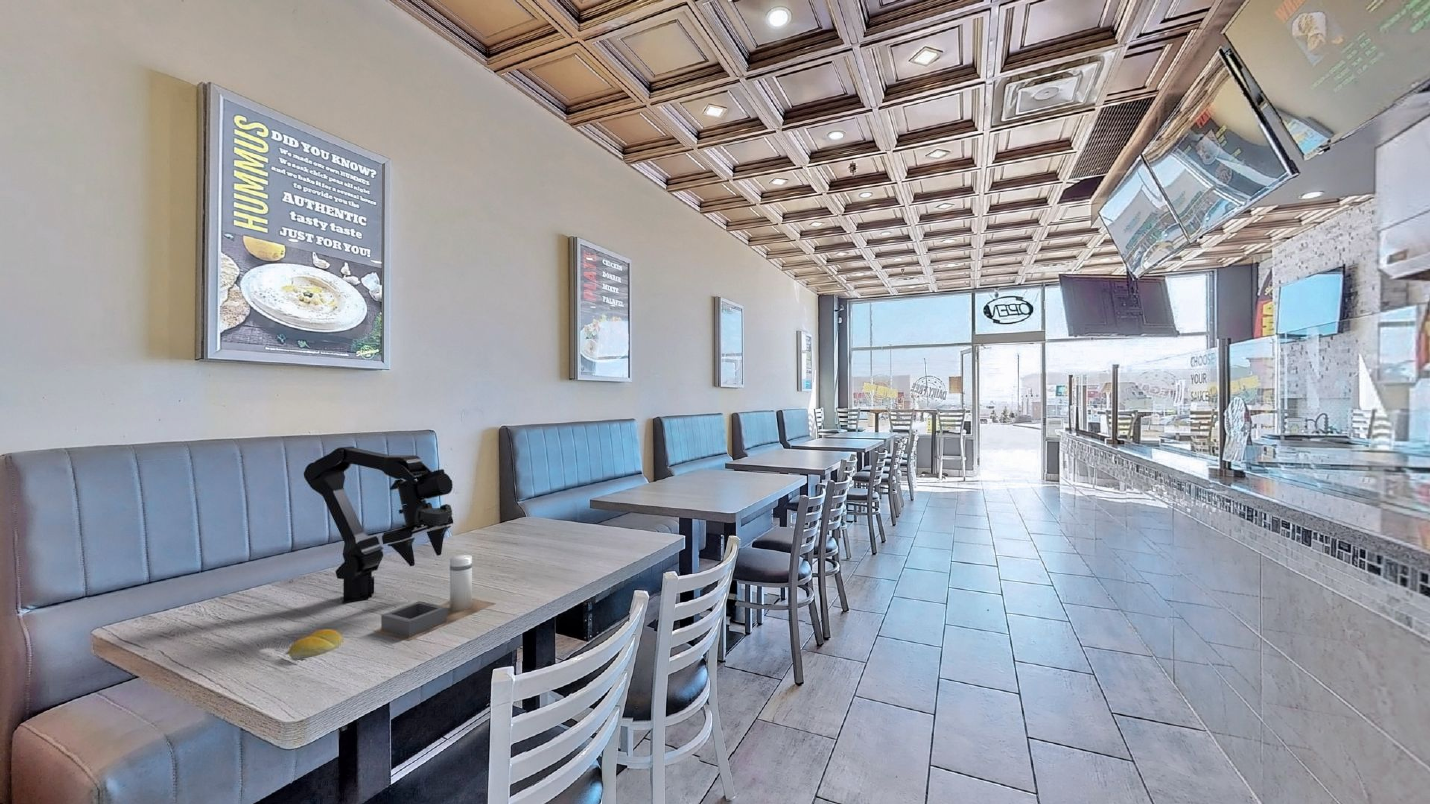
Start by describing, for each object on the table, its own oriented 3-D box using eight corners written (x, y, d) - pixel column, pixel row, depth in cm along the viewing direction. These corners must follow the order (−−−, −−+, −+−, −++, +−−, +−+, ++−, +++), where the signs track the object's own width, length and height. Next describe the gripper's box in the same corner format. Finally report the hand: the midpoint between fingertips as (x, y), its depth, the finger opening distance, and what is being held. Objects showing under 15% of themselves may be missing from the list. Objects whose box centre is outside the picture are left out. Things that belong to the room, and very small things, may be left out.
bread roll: (279, 661, 108) (279, 641, 108) (319, 641, 117) (319, 623, 117) (313, 664, 107) (313, 644, 107) (351, 644, 116) (351, 626, 116)
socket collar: (409, 638, 117) (409, 622, 117) (381, 630, 121) (381, 614, 121) (446, 622, 125) (446, 607, 125) (419, 615, 129) (419, 601, 129)
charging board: (408, 644, 115) (408, 640, 115) (373, 634, 120) (373, 631, 120) (496, 606, 137) (496, 603, 137) (462, 599, 142) (462, 596, 142)
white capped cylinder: (450, 612, 131) (451, 561, 131) (448, 606, 135) (448, 556, 135) (473, 608, 134) (473, 558, 134) (470, 602, 138) (470, 553, 138)
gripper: (410, 503, 130) (424, 566, 129) (463, 490, 148) (475, 545, 147) (374, 512, 133) (387, 574, 132) (430, 498, 151) (442, 552, 150)
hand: (426, 560), depth 140 cm, fingers open, 9 cm apart
